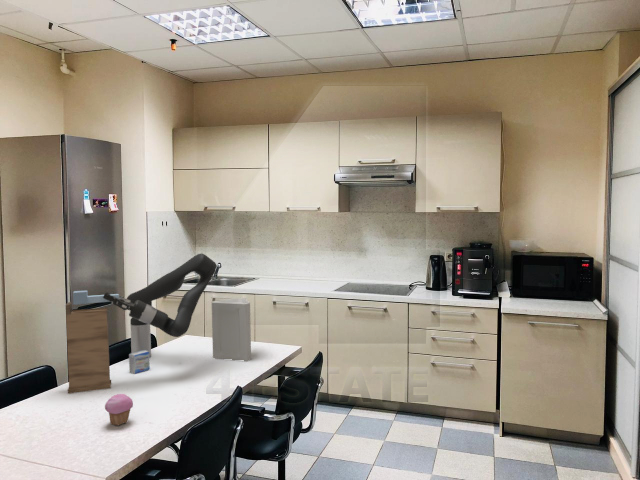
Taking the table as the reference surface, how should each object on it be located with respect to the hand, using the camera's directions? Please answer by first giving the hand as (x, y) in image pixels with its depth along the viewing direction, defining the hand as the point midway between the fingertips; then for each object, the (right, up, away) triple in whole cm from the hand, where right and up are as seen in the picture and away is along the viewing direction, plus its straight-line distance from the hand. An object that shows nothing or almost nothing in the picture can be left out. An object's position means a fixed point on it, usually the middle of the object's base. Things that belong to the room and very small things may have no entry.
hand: (104, 294), depth 207 cm
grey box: (+47, -36, +44) cm, 74 cm away
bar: (-3, -3, -1) cm, 4 cm away
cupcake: (+20, -41, -35) cm, 57 cm away
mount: (-6, -39, 0) cm, 39 cm away
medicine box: (+7, -38, +22) cm, 44 cm away
